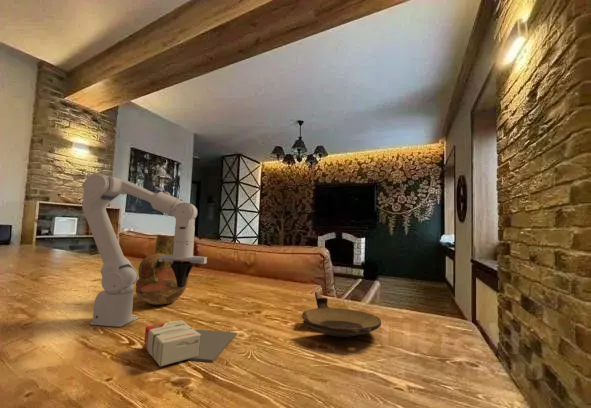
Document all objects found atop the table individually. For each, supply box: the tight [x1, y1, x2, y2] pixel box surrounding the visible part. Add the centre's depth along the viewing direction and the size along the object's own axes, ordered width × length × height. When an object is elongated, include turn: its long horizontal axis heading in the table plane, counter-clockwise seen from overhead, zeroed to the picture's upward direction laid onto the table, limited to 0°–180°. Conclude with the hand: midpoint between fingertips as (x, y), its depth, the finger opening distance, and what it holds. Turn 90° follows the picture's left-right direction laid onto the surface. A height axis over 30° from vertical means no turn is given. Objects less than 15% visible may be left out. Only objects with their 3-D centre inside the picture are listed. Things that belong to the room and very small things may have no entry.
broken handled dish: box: [301, 290, 382, 338], centre depth 84 cm, size 22×30×8 cm
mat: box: [185, 328, 238, 363], centre depth 70 cm, size 14×16×1 cm
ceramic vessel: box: [135, 234, 190, 306], centre depth 106 cm, size 17×26×25 cm, turn 172°
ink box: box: [143, 319, 201, 367], centre depth 65 cm, size 8×5×12 cm
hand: (181, 286), depth 86 cm, fingers closed
